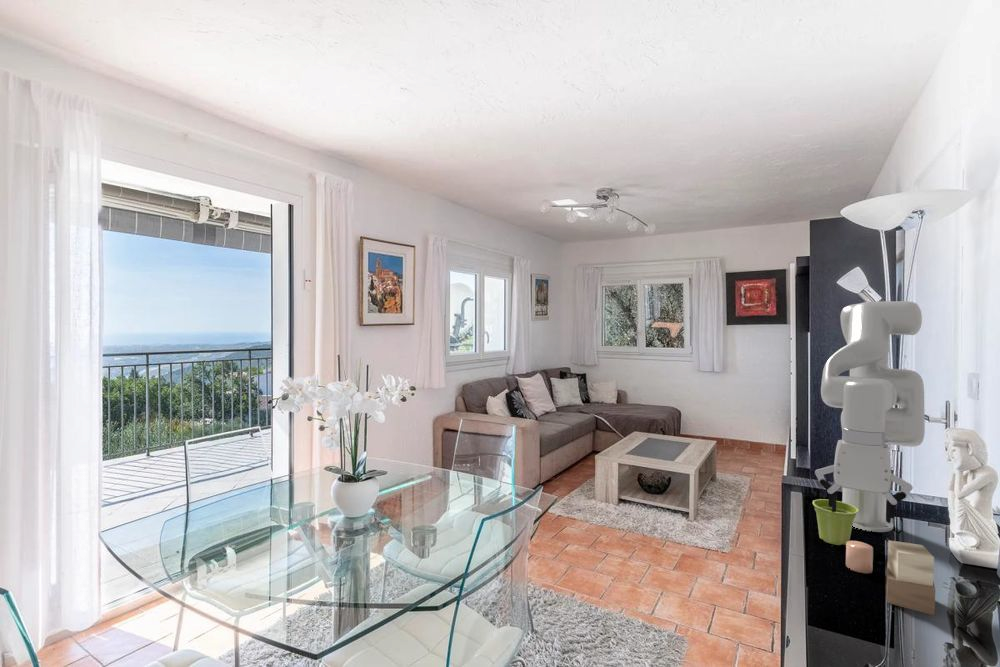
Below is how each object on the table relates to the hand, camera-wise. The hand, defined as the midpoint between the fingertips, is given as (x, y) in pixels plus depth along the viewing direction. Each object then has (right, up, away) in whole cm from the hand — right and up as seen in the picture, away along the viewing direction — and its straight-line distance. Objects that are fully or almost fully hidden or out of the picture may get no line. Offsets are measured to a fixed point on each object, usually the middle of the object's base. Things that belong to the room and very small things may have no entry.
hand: (860, 515), depth 111 cm
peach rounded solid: (0, -12, +1) cm, 12 cm away
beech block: (+1, -8, -12) cm, 14 cm away
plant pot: (+4, -12, +14) cm, 19 cm away
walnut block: (+1, -13, -12) cm, 17 cm away
